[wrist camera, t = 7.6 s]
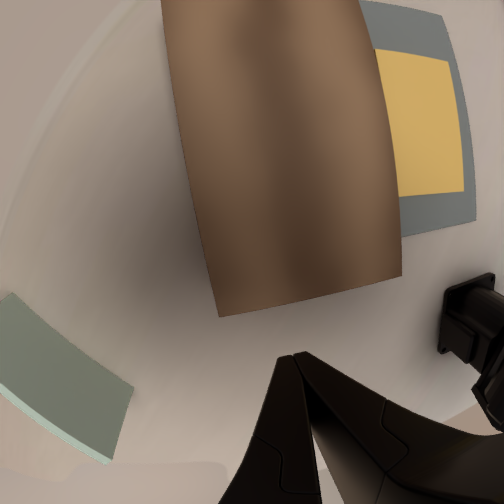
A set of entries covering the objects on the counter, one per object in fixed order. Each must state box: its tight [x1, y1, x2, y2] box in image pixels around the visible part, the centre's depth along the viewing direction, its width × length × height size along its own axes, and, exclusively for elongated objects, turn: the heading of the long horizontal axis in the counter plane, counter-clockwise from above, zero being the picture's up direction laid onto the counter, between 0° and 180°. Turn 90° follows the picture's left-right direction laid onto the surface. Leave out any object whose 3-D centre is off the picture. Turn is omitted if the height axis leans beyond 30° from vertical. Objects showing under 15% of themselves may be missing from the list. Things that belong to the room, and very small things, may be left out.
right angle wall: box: [0, 293, 134, 465], centre depth 17 cm, size 12×12×8 cm
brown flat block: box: [161, 0, 402, 317], centre depth 16 cm, size 11×18×3 cm, turn 10°
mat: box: [358, 0, 476, 237], centre depth 17 cm, size 10×17×1 cm, turn 10°
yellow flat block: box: [374, 49, 464, 197], centre depth 16 cm, size 6×9×2 cm, turn 7°
